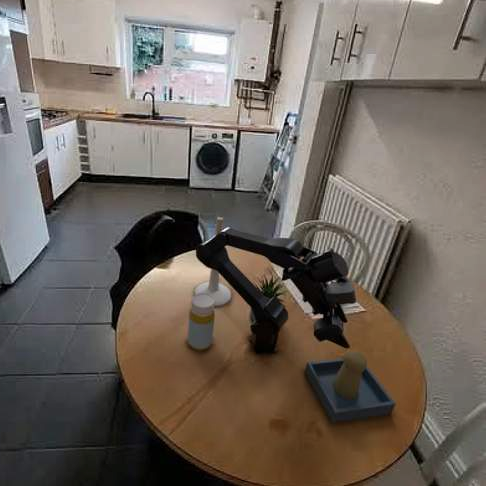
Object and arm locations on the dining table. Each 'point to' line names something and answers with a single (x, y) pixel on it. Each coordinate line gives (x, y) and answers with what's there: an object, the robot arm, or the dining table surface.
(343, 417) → the tray
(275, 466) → the dining table surface
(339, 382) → the wooden peg doll
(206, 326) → the bottle
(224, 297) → the candlestick
